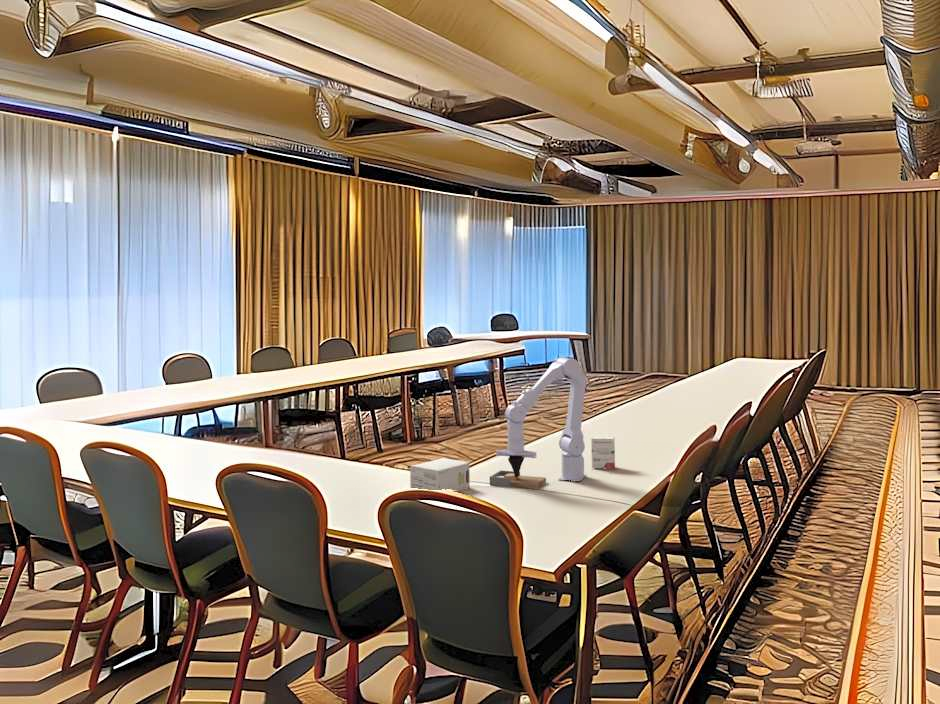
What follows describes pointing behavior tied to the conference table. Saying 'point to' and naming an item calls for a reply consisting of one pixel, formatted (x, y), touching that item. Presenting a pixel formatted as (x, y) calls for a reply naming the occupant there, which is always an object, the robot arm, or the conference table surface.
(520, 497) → the conference table surface
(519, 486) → the walnut board
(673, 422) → the conference table surface
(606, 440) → the ink box
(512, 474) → the terracotta tile
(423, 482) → the supplement box
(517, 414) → the robot arm
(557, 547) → the conference table surface
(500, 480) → the slate tray
